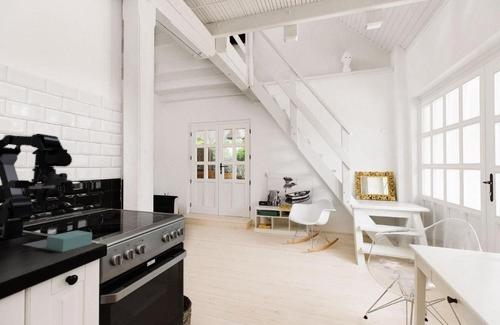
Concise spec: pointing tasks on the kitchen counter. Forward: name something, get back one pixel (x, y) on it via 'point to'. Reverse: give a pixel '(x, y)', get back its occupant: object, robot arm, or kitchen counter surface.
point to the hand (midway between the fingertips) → (41, 206)
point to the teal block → (69, 240)
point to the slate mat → (39, 244)
